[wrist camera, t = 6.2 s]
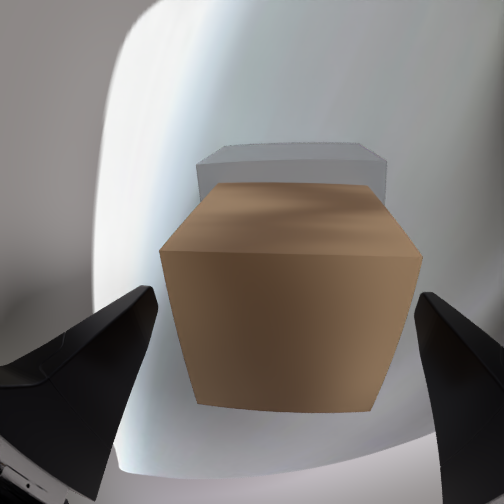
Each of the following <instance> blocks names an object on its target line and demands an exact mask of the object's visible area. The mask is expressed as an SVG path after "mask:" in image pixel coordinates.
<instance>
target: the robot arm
mask: <svg viewBox="0 0 504 504" xmlns="http://www.w3.org/2000/svg"><path fill="white" fill-rule="evenodd" d="M157 313H158V303H157V300H156V296H155V293H154V290H153V288H152V287H151V286H144V285H141V286H139V287H137V288H136V289H134V290H132V291H131V292H129V293H127V294H126V295H124V296H122V297H121V298H119V299H117V300H116V301H114V302H112V303H111V304H109V305H108V306H106V307H104V308H103V309H101V310H99V311H98V312H96V313H94V314H93V315H91V316H90V317H88V318H86V319H85V320H83V321H82V322H80V323H79V324H77V325H75V326H74V327H72V328H70V329H69V330H67V331H66V333H65V332H64V333H62V334H61V335H59V336H58V337H56V338H54V339H53V340H51V341H49V342H48V343H46V344H44V345H43V346H41V347H39V348H37V349H35V350H33V351H32V352H30V353H28V354H26V355H25V356H23V357H21V358H19V359H17V360H15V361H14V362H11V363H9V364H7V365H4V366H0V504H69V503H68V500H67V499H66V496H67V494H68V491H69V490H71V491H73V492H75V493H77V494H79V495H81V496H84V497H86V498H88V499H90V500H92V501H95V500H96V498H97V494H98V491H99V488H100V484H101V480H102V478H103V474H104V471H105V468H106V464H107V461H108V458H109V455H110V452H111V448H112V445H113V442H114V439H115V436H116V433H117V430H118V427H119V424H120V421H121V419H122V416H123V413H124V410H125V407H126V404H127V402H128V399H129V396H130V393H131V390H132V388H133V385H134V382H135V380H136V377H137V374H138V372H139V369H140V366H141V364H142V361H143V359H144V356H145V354H146V351H147V348H148V345H149V342H150V338H151V334H152V331H153V327H154V323H155V320H156V316H157ZM414 319H415V325H416V331H417V338H418V344H419V351H420V357H421V361H422V366H423V370H424V374H425V378H426V383H427V388H428V392H429V397H430V402H431V407H432V413H433V419H434V424H435V431H436V437H437V444H438V452H439V460H440V466H441V467H440V471H441V482H442V495H443V496H442V497H443V504H504V347H502V346H501V345H500V344H499V343H498V342H496V341H495V340H494V339H493V338H491V337H490V336H489V335H488V334H486V333H485V332H484V331H483V330H482V329H480V328H479V327H478V326H476V325H475V324H474V323H473V322H471V321H470V320H469V319H468V318H466V317H465V316H464V315H462V314H461V313H460V312H458V311H457V310H456V309H455V308H453V307H452V306H451V305H449V304H448V303H447V302H445V301H444V300H443V299H441V298H440V297H439V296H437V295H436V294H434V293H433V292H423V293H421V294H420V297H419V300H418V303H417V306H416V309H415V313H414Z"/></svg>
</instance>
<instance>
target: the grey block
mask: <svg viewBox="0 0 504 504" xmlns="http://www.w3.org/2000/svg"><path fill="white" fill-rule="evenodd" d="M196 169H197V177H198V185H199V193H200V200H201V201H202V200H203V199H204V198H205V197H206V196H207V195H208V194H209V193H210V191H211V190H212V189H213V188H214V187H215V186H216V185H217V184H218V183H240V182H284V183H326V184H349V185H368V187H369V188H370V189H371V190H372V191H373V193H374V194H375V195H376V196H377V197H378V199H379V200H380V201H381V202H382V204H383V205H385V192H386V175H387V161H386V160H385V159H383V158H382V157H380V156H378V155H377V154H375V153H374V152H372V151H371V150H369V149H367V148H366V147H364V146H363V145H361V144H359V143H271V144H249V145H234V146H224V147H223V148H221V149H219V150H218V151H216V152H215V153H213V154H211V155H210V156H208V157H207V158H205V159H204V160H202V161H201V162H199V163H198V164H196Z"/></svg>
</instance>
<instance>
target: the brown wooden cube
mask: <svg viewBox="0 0 504 504" xmlns="http://www.w3.org/2000/svg"><path fill="white" fill-rule="evenodd" d="M159 253H160V258H161V263H162V268H163V273H164V277H165V282H166V287H167V291H168V296H169V300H170V305H171V309H172V313H173V317H174V321H175V325H176V329H177V333H178V337H179V341H180V345H181V349H182V352H183V356H184V360H185V363H186V367H187V370H188V374H189V377H190V381H191V384H192V388H193V391H194V394H195V397H196V401H197V404H203V405H210V406H218V407H226V408H235V409H246V410H258V411H273V412H296V413H343V412H366V411H371V408H372V406H373V404H374V402H375V400H376V397H377V395H378V393H379V391H380V388H381V386H382V383H383V381H384V379H385V376H386V374H387V371H388V369H389V366H390V363H391V361H392V358H393V356H394V353H395V350H396V347H397V345H398V342H399V339H400V336H401V333H402V330H403V327H404V324H405V321H406V318H407V314H408V311H409V308H410V305H411V301H412V298H413V294H414V291H415V287H416V283H417V279H418V276H419V272H420V268H421V263H422V259H423V257H422V255H421V254H420V252H419V251H418V250H417V248H416V247H415V245H414V244H413V243H412V241H411V240H410V239H409V237H408V236H407V234H406V233H405V232H404V230H403V229H402V228H401V226H400V225H399V224H398V223H397V221H396V220H395V219H394V217H393V216H392V215H391V214H390V212H389V211H388V210H387V209H386V207H385V206H384V205H383V204H382V202H381V201H380V200H379V199H378V197H377V196H376V195H375V194H374V193H373V191H372V190H371V189H370V188H369V187H368V185H349V184H326V183H284V182H240V183H218V184H217V185H216V186H215V187H214V188H213V189H212V190H211V191H210V193H209V194H208V195H207V196H206V197H205V198H204V199H203V200H202V201H201V203H200V204H199V205H198V206H197V207H196V208H195V209H194V210H193V212H192V213H191V214H190V215H189V216H188V217H187V218H186V220H185V221H184V222H183V223H182V224H181V225H180V226H179V228H178V229H177V230H176V231H175V232H174V233H173V235H172V236H171V237H170V238H169V239H168V241H167V242H166V243H165V244H164V245H163V246H162V248H161V249H160V250H159Z"/></svg>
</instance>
